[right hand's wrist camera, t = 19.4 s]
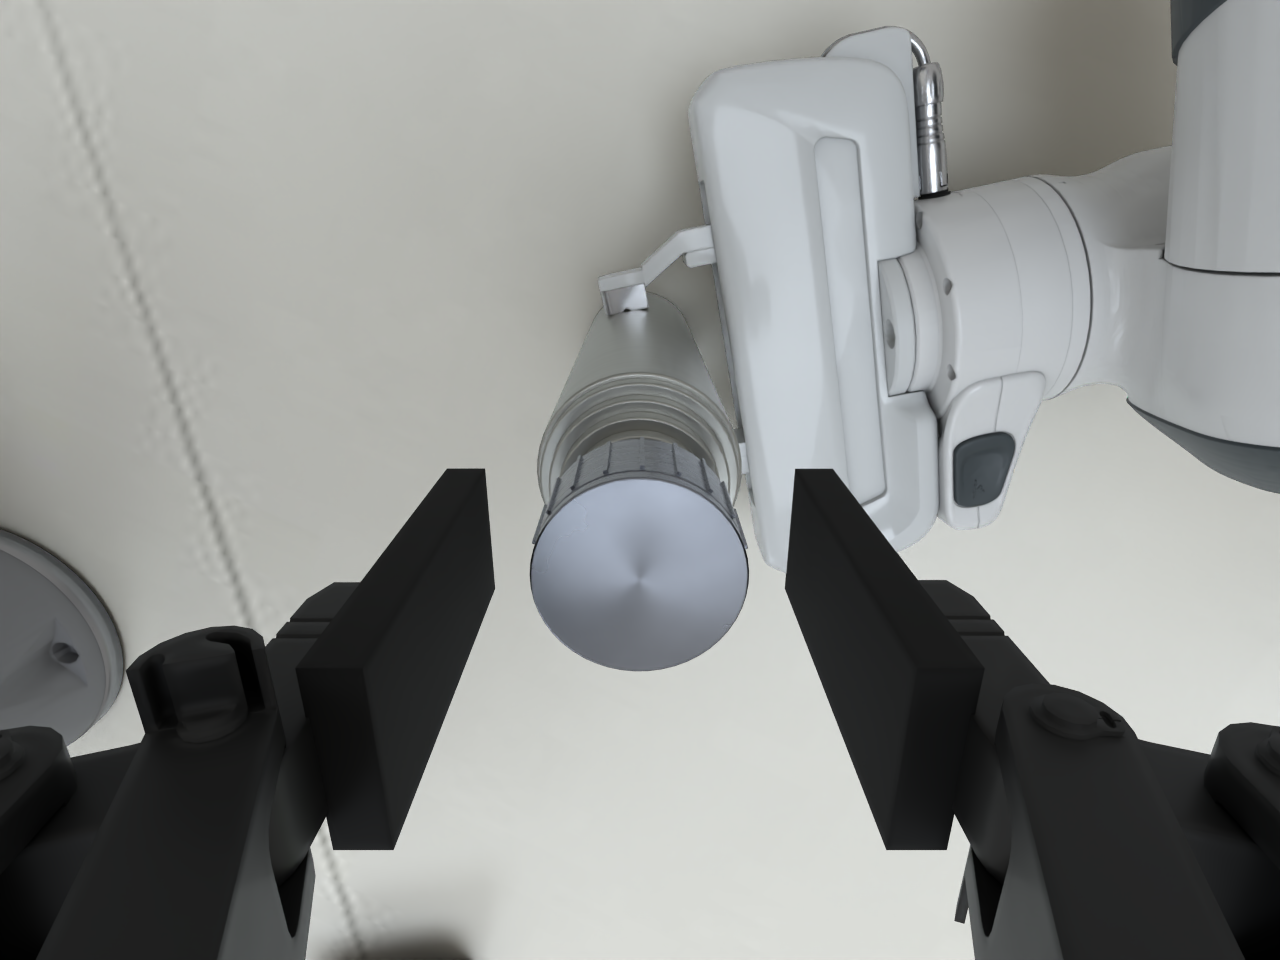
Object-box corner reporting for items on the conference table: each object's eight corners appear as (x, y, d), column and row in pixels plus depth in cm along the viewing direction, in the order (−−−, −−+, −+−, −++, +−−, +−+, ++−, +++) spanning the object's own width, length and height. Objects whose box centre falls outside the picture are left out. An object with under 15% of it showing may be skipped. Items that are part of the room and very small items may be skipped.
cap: (770, 483, 14) (794, 531, 12) (683, 636, 15) (689, 703, 13) (591, 402, 14) (581, 436, 11) (514, 568, 15) (494, 627, 13)
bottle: (602, 278, 34) (534, 397, 12) (704, 307, 34) (817, 472, 12) (577, 379, 36) (477, 644, 14) (674, 405, 36) (727, 702, 14)
